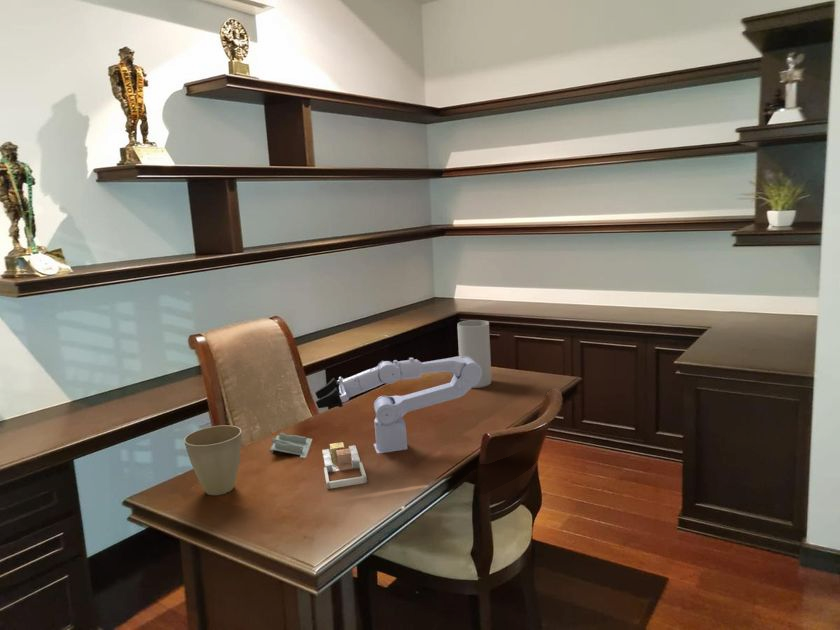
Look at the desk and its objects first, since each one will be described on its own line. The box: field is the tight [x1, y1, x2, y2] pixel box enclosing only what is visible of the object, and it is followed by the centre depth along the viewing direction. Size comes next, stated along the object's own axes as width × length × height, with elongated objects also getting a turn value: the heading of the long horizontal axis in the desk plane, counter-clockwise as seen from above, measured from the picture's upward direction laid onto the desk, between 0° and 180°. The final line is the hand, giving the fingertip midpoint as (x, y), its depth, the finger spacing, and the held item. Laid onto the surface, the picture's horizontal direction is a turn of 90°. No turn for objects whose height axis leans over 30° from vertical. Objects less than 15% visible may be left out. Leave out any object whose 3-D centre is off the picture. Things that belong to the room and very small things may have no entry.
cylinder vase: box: [456, 319, 492, 389], centre depth 249 cm, size 12×12×25 cm
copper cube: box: [336, 447, 352, 469], centre depth 181 cm, size 4×4×4 cm
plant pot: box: [183, 424, 242, 496], centre depth 170 cm, size 15×15×16 cm
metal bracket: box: [269, 432, 313, 459], centre depth 195 cm, size 14×6×15 cm
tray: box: [323, 461, 368, 490], centre depth 172 cm, size 11×10×2 cm
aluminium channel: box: [321, 444, 361, 473], centre depth 183 cm, size 10×12×3 cm
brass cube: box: [329, 441, 345, 462], centre depth 185 cm, size 4×4×4 cm
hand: (316, 400), depth 186 cm, fingers open, 7 cm apart
